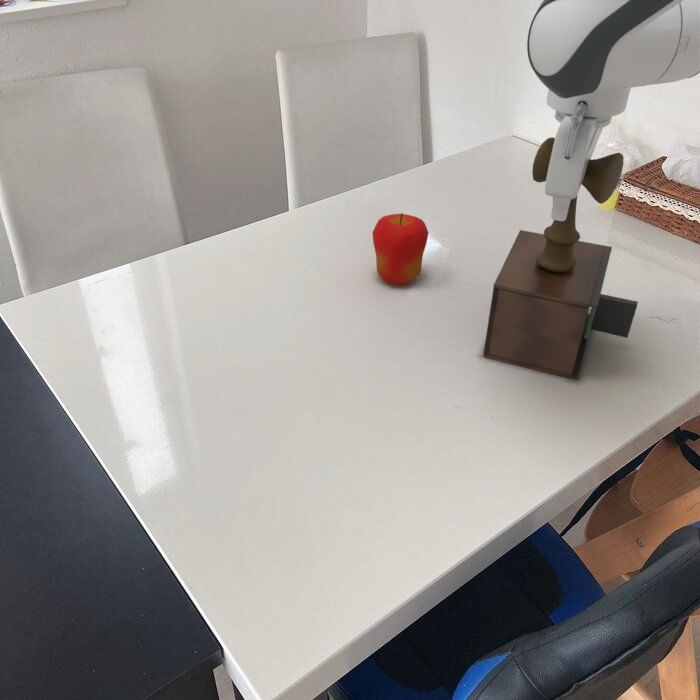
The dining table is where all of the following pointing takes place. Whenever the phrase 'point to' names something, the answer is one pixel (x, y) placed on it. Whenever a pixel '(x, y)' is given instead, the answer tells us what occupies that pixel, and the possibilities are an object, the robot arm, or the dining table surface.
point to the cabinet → (544, 307)
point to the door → (611, 316)
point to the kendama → (573, 205)
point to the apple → (399, 247)
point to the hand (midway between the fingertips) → (565, 202)
